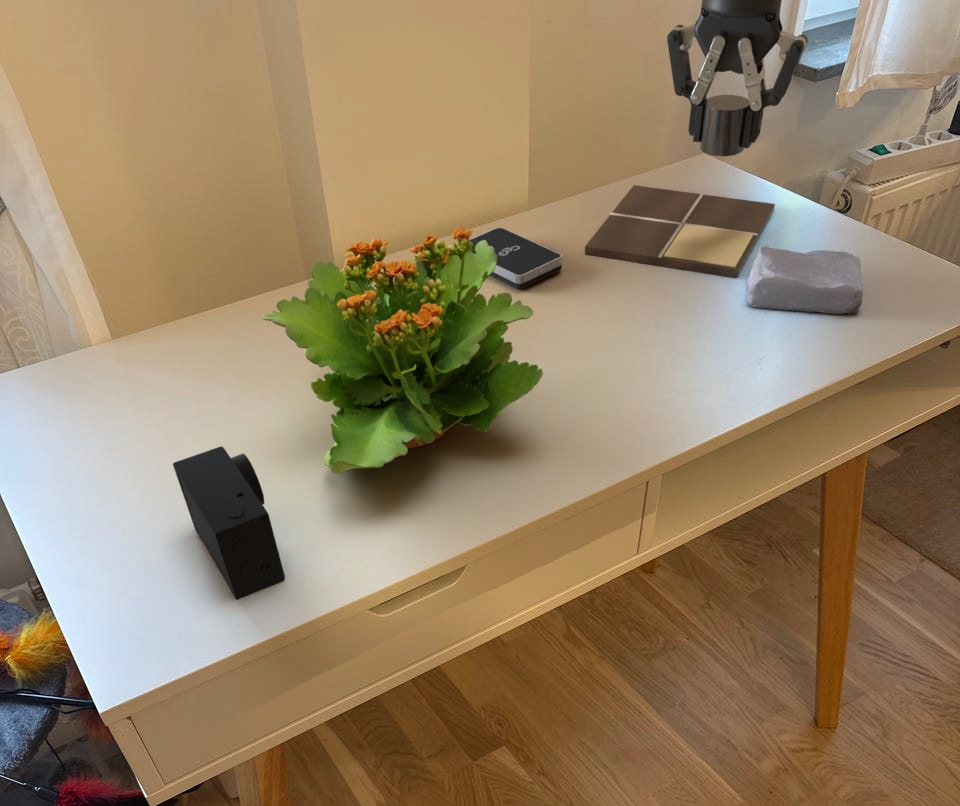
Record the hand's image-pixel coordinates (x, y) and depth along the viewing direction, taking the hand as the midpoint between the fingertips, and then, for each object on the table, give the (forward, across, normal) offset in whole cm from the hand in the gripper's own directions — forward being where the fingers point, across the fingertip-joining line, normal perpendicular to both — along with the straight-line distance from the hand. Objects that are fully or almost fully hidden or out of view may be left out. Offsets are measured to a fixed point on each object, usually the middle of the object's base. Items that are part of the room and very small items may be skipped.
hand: (722, 141), depth 102 cm
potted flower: (+13, -18, -41) cm, 47 cm away
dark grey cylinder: (+1, 0, 0) cm, 1 cm away
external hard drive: (+13, -20, -10) cm, 26 cm away
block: (+13, +12, -5) cm, 18 cm away
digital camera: (+13, -22, -63) cm, 68 cm away
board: (+12, -4, +4) cm, 14 cm away
